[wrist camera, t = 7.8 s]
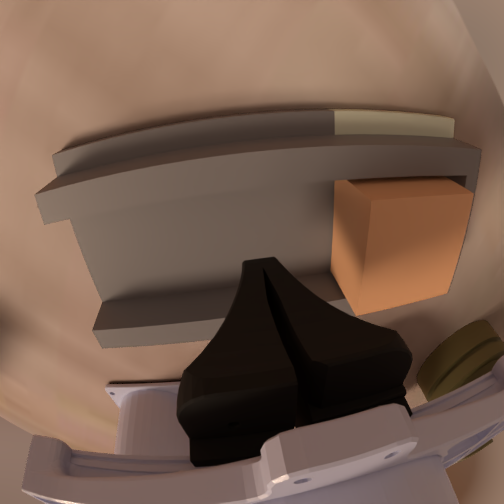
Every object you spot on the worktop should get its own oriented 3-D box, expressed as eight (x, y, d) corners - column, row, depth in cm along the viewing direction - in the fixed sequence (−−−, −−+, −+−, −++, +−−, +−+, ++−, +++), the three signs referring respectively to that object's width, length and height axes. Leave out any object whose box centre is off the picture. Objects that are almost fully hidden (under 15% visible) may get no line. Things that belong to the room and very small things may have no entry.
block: (413, 256, 18) (447, 293, 14) (330, 270, 18) (355, 316, 14) (428, 167, 15) (473, 193, 11) (334, 170, 14) (371, 200, 11)
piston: (440, 470, 19) (532, 396, 14) (399, 383, 29) (469, 310, 24) (477, 453, 23) (545, 394, 18) (442, 387, 33) (499, 329, 28)
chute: (419, 277, 21) (443, 306, 18) (120, 322, 19) (110, 361, 16) (444, 116, 14) (483, 128, 11) (60, 150, 13) (27, 169, 10)
